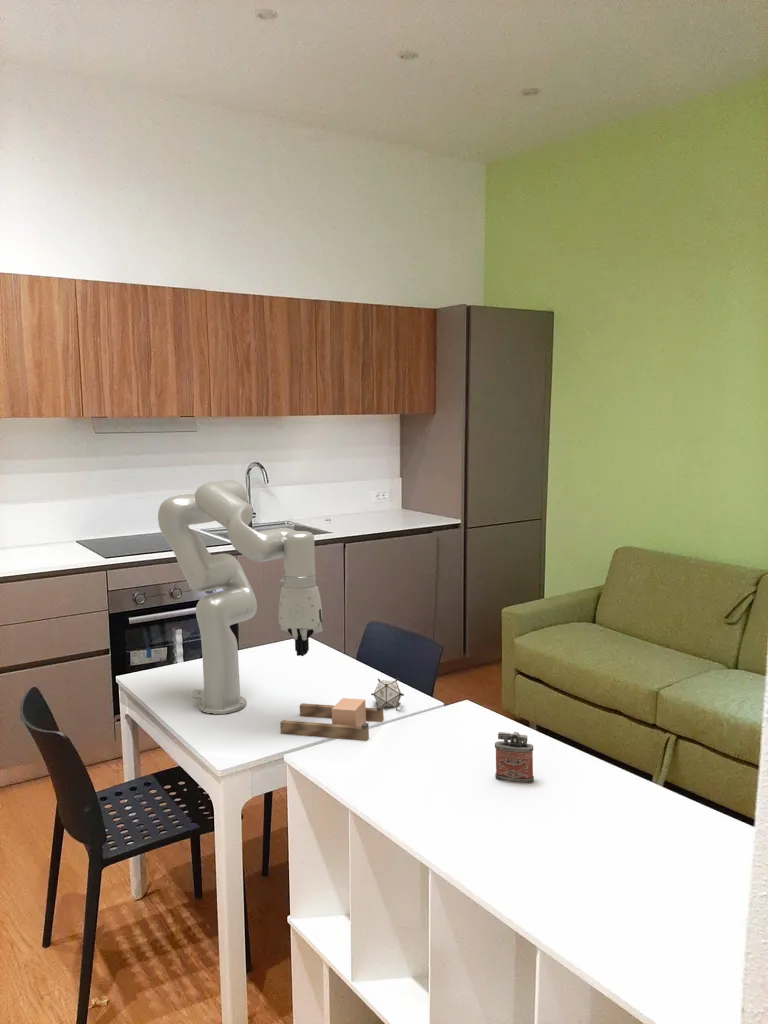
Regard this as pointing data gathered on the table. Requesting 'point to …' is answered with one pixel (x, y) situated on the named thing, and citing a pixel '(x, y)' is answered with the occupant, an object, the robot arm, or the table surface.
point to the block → (349, 712)
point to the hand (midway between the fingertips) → (302, 654)
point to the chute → (329, 729)
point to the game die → (387, 693)
